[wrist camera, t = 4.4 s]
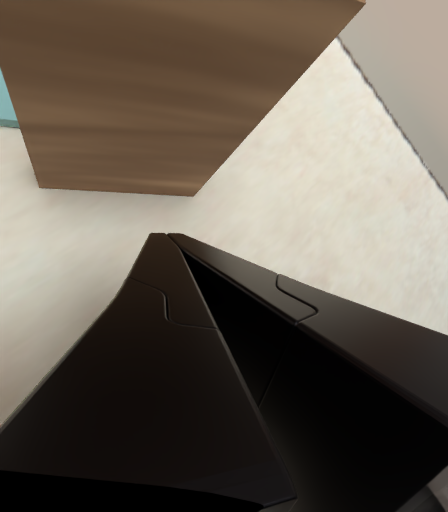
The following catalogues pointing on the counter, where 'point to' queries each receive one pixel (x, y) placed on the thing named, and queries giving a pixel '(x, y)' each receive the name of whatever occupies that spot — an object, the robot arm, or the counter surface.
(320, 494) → the robot arm
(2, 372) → the counter surface
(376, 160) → the counter surface
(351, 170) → the counter surface
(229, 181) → the counter surface
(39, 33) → the walnut tile
